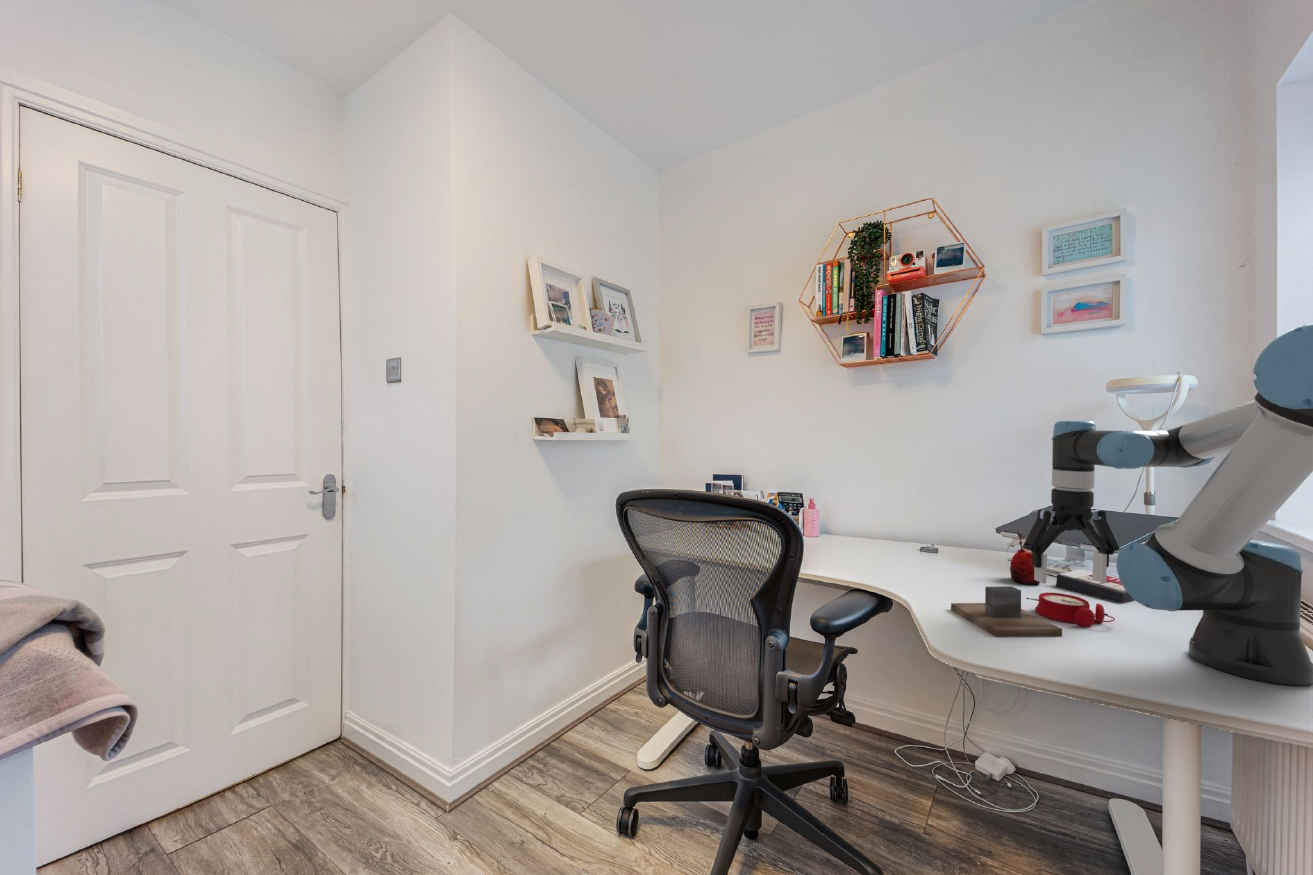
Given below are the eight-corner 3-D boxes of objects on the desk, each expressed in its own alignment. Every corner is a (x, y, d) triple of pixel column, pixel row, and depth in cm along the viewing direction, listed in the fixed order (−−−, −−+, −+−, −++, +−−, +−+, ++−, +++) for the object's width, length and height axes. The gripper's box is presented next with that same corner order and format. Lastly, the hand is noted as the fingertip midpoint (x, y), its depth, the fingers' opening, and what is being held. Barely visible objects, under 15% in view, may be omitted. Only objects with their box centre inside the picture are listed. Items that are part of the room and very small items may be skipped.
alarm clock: (1046, 589, 128) (1119, 593, 115) (1052, 616, 127) (1127, 622, 114) (1020, 595, 124) (1093, 600, 110) (1026, 623, 122) (1101, 631, 109)
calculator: (1123, 590, 128) (1056, 571, 141) (1122, 607, 128) (1055, 587, 142) (1147, 584, 132) (1080, 567, 146) (1146, 601, 132) (1079, 582, 146)
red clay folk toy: (1047, 585, 142) (1048, 531, 142) (1024, 586, 141) (1025, 532, 141) (1024, 577, 150) (1025, 525, 150) (1002, 578, 149) (1003, 526, 149)
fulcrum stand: (1062, 635, 108) (1062, 600, 108) (995, 636, 108) (995, 600, 108) (1009, 608, 124) (1009, 577, 124) (951, 609, 124) (951, 578, 124)
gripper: (1112, 486, 122) (1109, 575, 123) (1006, 486, 122) (1004, 576, 122) (1142, 490, 114) (1139, 586, 115) (1029, 491, 114) (1027, 587, 115)
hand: (1069, 581), depth 119 cm, fingers open, 13 cm apart
